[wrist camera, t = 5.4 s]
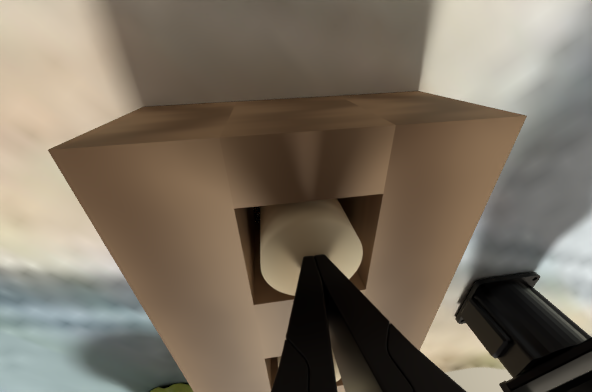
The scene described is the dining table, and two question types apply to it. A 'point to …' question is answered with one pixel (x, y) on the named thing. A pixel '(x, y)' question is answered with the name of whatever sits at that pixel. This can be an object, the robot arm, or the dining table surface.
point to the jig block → (280, 190)
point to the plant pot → (174, 388)
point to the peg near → (305, 240)
